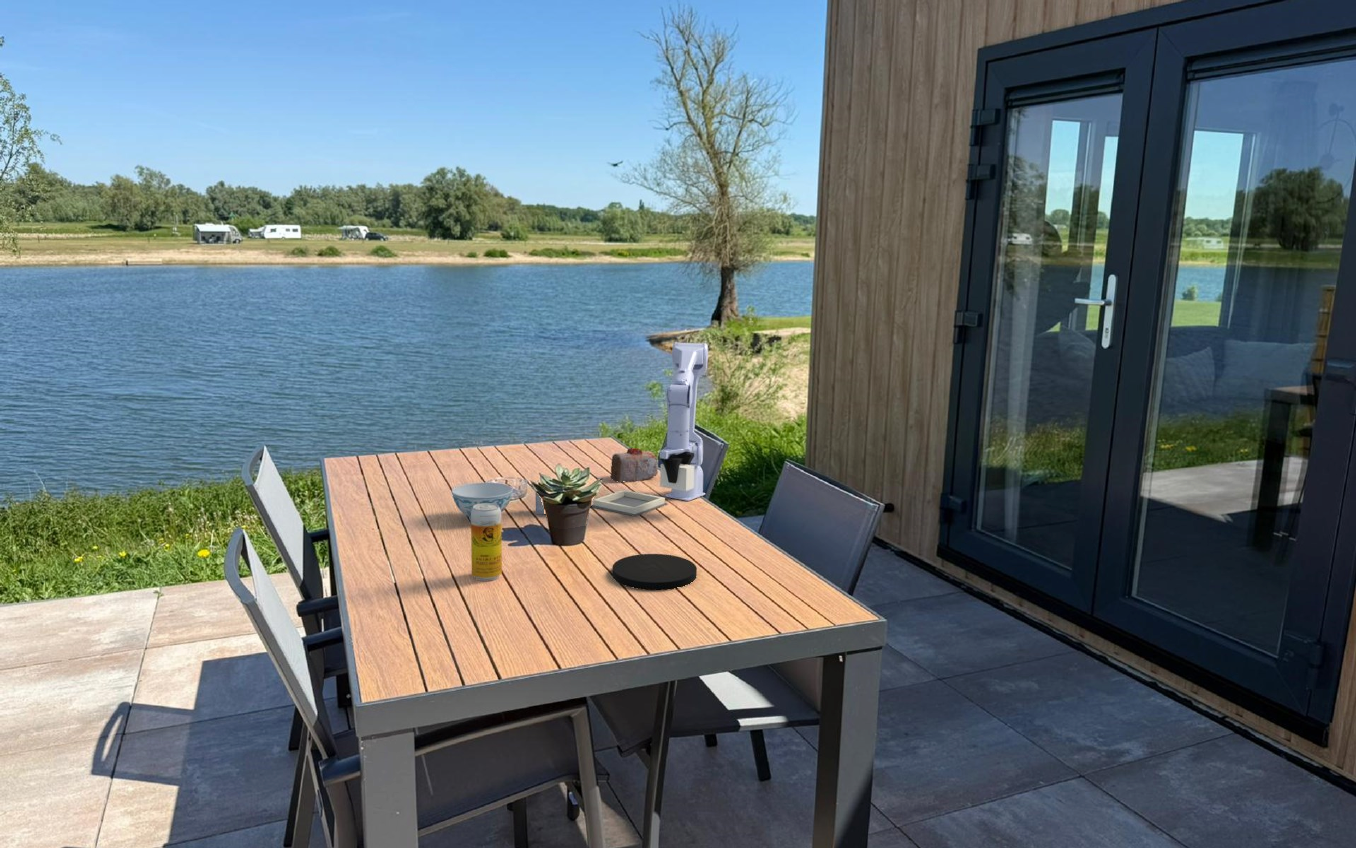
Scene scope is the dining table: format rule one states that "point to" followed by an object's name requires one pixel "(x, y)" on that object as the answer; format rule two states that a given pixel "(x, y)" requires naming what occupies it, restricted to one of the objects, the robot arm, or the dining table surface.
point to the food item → (633, 465)
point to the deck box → (679, 478)
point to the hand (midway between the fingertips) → (676, 481)
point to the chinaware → (481, 495)
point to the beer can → (486, 541)
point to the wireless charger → (654, 571)
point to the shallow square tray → (629, 502)
